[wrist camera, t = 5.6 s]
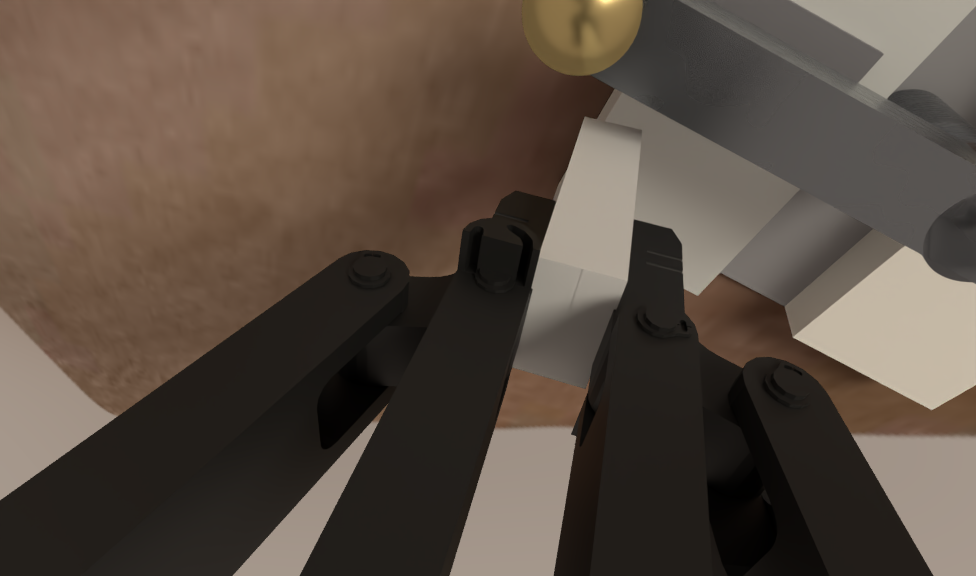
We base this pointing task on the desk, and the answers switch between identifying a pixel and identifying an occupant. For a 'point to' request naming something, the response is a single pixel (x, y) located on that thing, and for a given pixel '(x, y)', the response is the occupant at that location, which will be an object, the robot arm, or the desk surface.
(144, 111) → the desk surface
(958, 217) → the lever
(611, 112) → the door mockup
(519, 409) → the desk surface
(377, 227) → the desk surface
